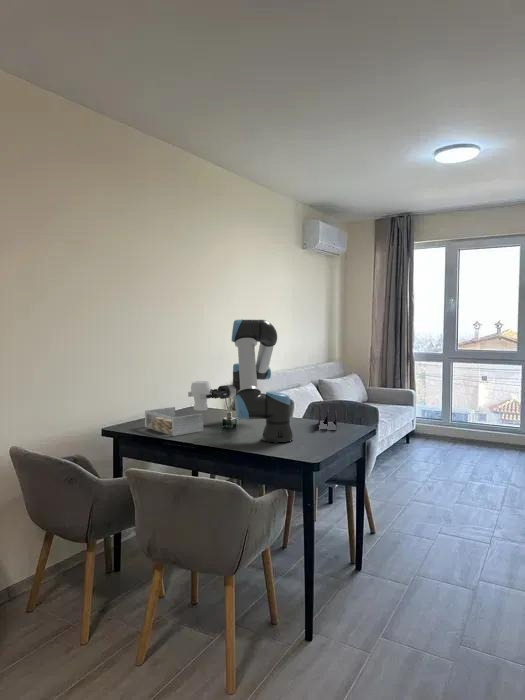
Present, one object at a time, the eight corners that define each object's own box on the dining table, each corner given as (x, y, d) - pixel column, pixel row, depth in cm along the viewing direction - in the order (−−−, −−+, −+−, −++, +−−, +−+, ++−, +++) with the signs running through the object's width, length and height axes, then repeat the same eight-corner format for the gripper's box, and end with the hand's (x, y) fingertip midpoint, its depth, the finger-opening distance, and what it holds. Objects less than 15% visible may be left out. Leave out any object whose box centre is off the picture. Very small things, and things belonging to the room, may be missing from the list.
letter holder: (318, 430, 269) (318, 404, 269) (318, 423, 289) (319, 398, 288) (336, 431, 268) (337, 405, 267) (336, 423, 288) (336, 399, 287)
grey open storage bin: (203, 433, 259) (203, 413, 259) (173, 438, 247) (173, 418, 246) (173, 424, 279) (173, 406, 279) (144, 429, 267) (144, 410, 266)
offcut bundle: (176, 432, 254) (176, 421, 253) (170, 433, 251) (170, 422, 251) (157, 427, 267) (157, 416, 266) (152, 428, 264) (152, 416, 264)
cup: (207, 411, 269) (207, 383, 268) (188, 410, 271) (188, 383, 270) (212, 408, 279) (213, 381, 278) (194, 407, 281) (194, 380, 280)
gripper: (239, 400, 279) (207, 405, 264) (213, 395, 296) (182, 399, 280) (239, 387, 278) (207, 391, 263) (213, 383, 295) (182, 386, 280)
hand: (194, 395), depth 272 cm, fingers closed on cup, 10 cm apart
